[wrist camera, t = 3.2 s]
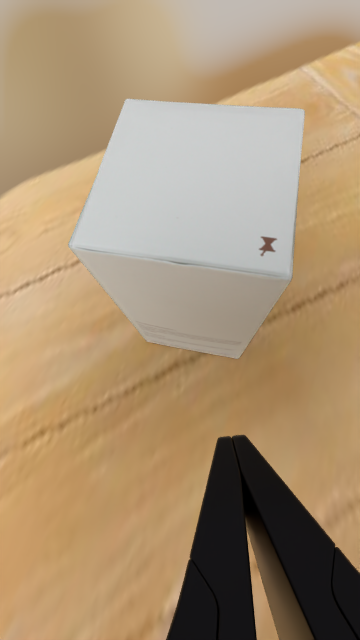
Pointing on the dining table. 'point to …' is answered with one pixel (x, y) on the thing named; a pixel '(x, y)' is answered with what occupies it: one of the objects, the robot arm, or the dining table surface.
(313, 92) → the dining table surface
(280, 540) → the robot arm
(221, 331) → the supplement box
